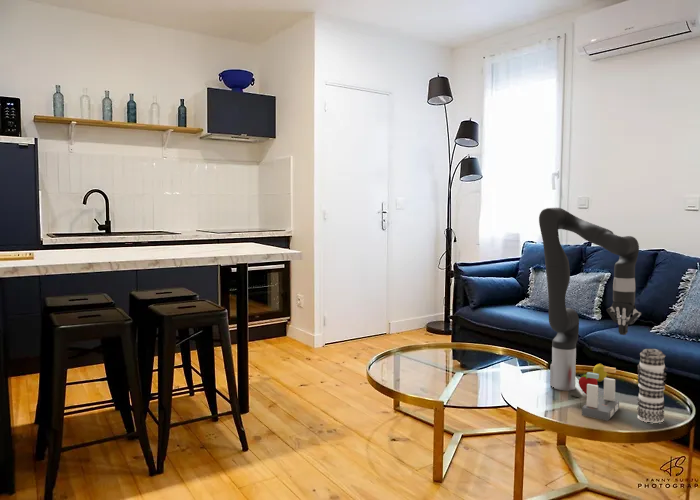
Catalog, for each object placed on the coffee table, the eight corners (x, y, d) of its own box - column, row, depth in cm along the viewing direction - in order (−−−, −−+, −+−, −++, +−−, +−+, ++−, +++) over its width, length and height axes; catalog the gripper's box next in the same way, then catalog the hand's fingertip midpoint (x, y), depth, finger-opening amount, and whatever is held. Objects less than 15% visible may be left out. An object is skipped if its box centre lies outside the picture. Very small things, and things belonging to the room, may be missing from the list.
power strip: (581, 415, 207) (581, 407, 206) (596, 400, 221) (596, 392, 221) (608, 421, 201) (609, 412, 200) (622, 405, 215) (622, 397, 215)
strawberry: (600, 396, 225) (601, 372, 224) (584, 398, 223) (584, 374, 222) (591, 392, 230) (591, 368, 230) (575, 393, 229) (575, 369, 228)
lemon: (608, 384, 240) (608, 365, 239) (594, 383, 241) (594, 365, 240) (605, 380, 245) (605, 361, 244) (591, 379, 246) (591, 361, 245)
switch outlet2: (603, 399, 213) (603, 367, 212) (604, 398, 214) (605, 366, 213) (614, 401, 210) (614, 369, 209) (615, 400, 212) (615, 368, 211)
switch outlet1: (586, 406, 206) (586, 373, 205) (587, 404, 208) (588, 372, 207) (597, 408, 204) (597, 375, 203) (598, 406, 205) (599, 373, 204)
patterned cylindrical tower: (645, 412, 208) (646, 345, 206) (670, 420, 200) (672, 351, 198) (630, 417, 203) (632, 349, 201) (656, 426, 195) (658, 355, 193)
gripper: (601, 288, 216) (601, 333, 218) (636, 292, 206) (635, 339, 207) (612, 286, 221) (611, 330, 222) (646, 290, 210) (645, 336, 211)
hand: (623, 334), depth 215 cm, fingers closed
